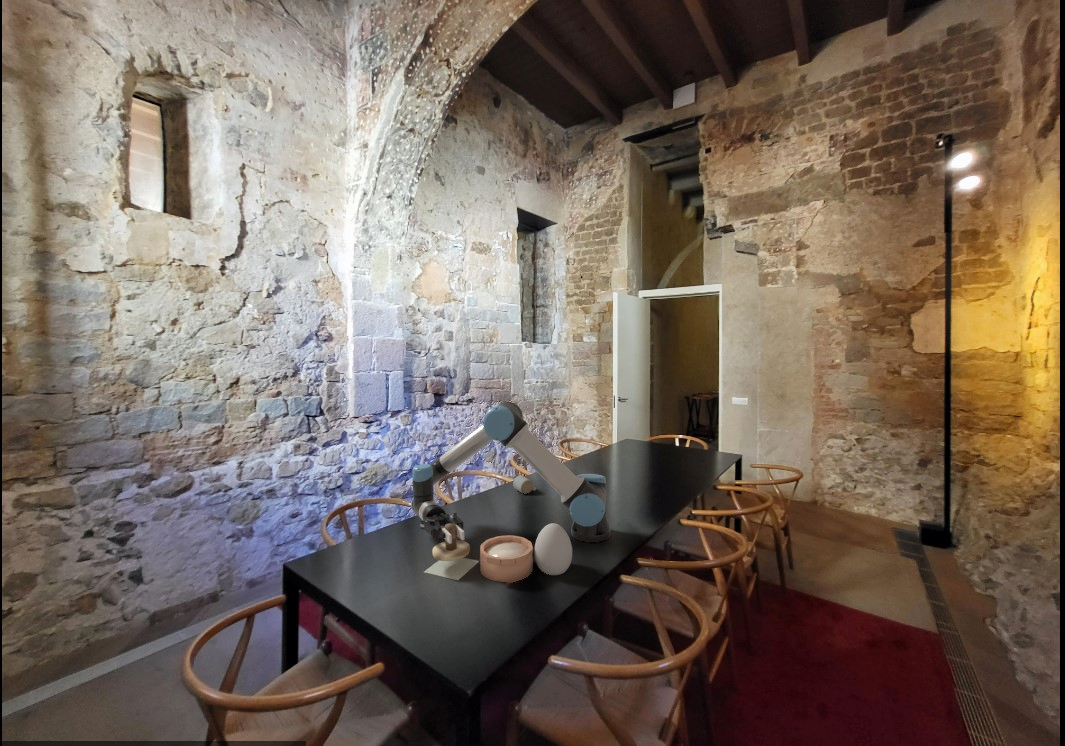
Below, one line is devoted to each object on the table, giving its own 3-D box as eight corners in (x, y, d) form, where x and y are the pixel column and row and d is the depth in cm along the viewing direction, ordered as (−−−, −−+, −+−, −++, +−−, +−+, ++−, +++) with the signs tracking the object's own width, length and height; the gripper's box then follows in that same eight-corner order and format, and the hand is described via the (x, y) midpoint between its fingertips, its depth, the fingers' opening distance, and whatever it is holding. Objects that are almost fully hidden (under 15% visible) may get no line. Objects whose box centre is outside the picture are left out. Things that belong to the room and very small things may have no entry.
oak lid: (476, 547, 148) (475, 521, 147) (456, 563, 137) (455, 535, 136) (446, 541, 153) (445, 516, 152) (424, 557, 142) (423, 529, 141)
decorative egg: (567, 558, 151) (566, 515, 150) (576, 576, 139) (576, 530, 138) (531, 561, 149) (531, 518, 148) (538, 580, 137) (537, 533, 136)
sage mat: (479, 562, 149) (479, 561, 149) (458, 581, 137) (458, 580, 137) (446, 555, 154) (446, 554, 154) (423, 573, 142) (423, 572, 142)
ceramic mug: (521, 495, 214) (521, 480, 214) (512, 491, 221) (512, 476, 220) (539, 492, 220) (539, 476, 220) (530, 487, 227) (530, 473, 226)
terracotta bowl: (540, 562, 148) (540, 540, 148) (519, 588, 133) (518, 563, 132) (495, 553, 155) (495, 532, 155) (470, 576, 140) (469, 553, 139)
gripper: (454, 519, 164) (481, 542, 144) (409, 530, 156) (431, 556, 136) (453, 499, 164) (480, 520, 144) (409, 509, 155) (430, 532, 135)
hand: (456, 537), depth 140 cm, fingers closed on oak lid, 3 cm apart
